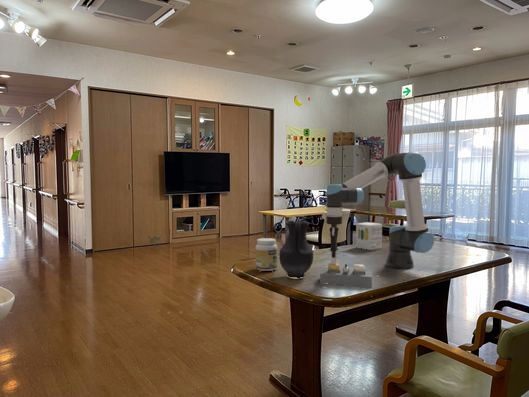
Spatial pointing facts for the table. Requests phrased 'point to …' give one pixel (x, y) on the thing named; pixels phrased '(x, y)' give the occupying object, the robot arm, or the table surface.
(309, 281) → the table surface
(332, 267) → the knob
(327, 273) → the mount
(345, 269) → the potentiometer
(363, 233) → the white canister
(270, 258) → the supplement tub
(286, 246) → the pitcher
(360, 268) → the knob
